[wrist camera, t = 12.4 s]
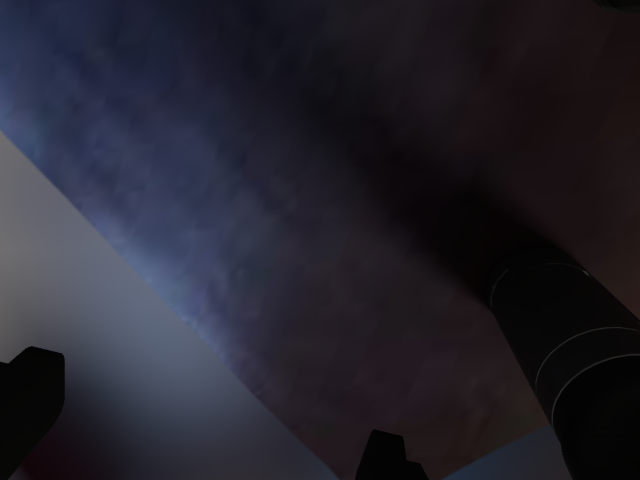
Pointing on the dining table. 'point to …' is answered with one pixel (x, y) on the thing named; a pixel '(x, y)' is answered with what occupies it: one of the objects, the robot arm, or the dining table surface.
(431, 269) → the dining table surface
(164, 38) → the dining table surface
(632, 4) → the beverage cup
